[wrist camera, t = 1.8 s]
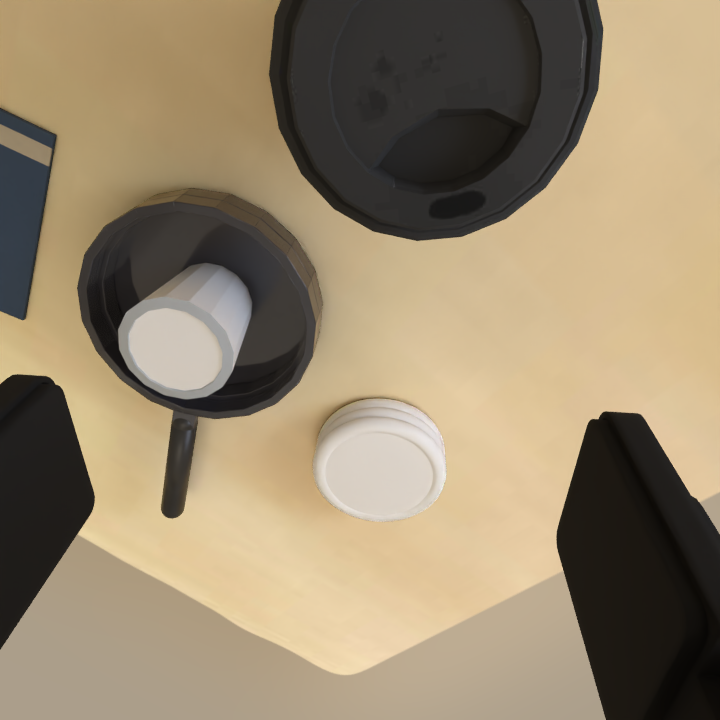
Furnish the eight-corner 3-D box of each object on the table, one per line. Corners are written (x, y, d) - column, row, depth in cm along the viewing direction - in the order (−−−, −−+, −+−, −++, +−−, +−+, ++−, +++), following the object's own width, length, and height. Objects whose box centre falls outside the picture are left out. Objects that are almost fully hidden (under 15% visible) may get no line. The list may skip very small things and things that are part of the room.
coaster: (451, 400, 41) (455, 429, 38) (436, 498, 46) (438, 530, 43) (318, 389, 42) (311, 418, 39) (317, 488, 47) (311, 519, 44)
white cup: (273, 277, 37) (247, 325, 31) (246, 358, 40) (217, 415, 34) (173, 237, 36) (126, 279, 30) (154, 324, 39) (108, 376, 33)
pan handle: (179, 394, 40) (170, 409, 39) (203, 401, 40) (195, 416, 39) (165, 503, 46) (156, 520, 44) (186, 509, 46) (178, 525, 45)
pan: (85, 339, 41) (59, 363, 38) (133, 144, 33) (105, 155, 30) (275, 419, 43) (265, 448, 40) (359, 254, 36) (354, 274, 33)
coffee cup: (352, 192, 34) (317, 291, 21) (290, -24, 29) (193, -69, 16) (542, 140, 32) (634, 216, 19) (514, -106, 26) (616, -237, 13)
